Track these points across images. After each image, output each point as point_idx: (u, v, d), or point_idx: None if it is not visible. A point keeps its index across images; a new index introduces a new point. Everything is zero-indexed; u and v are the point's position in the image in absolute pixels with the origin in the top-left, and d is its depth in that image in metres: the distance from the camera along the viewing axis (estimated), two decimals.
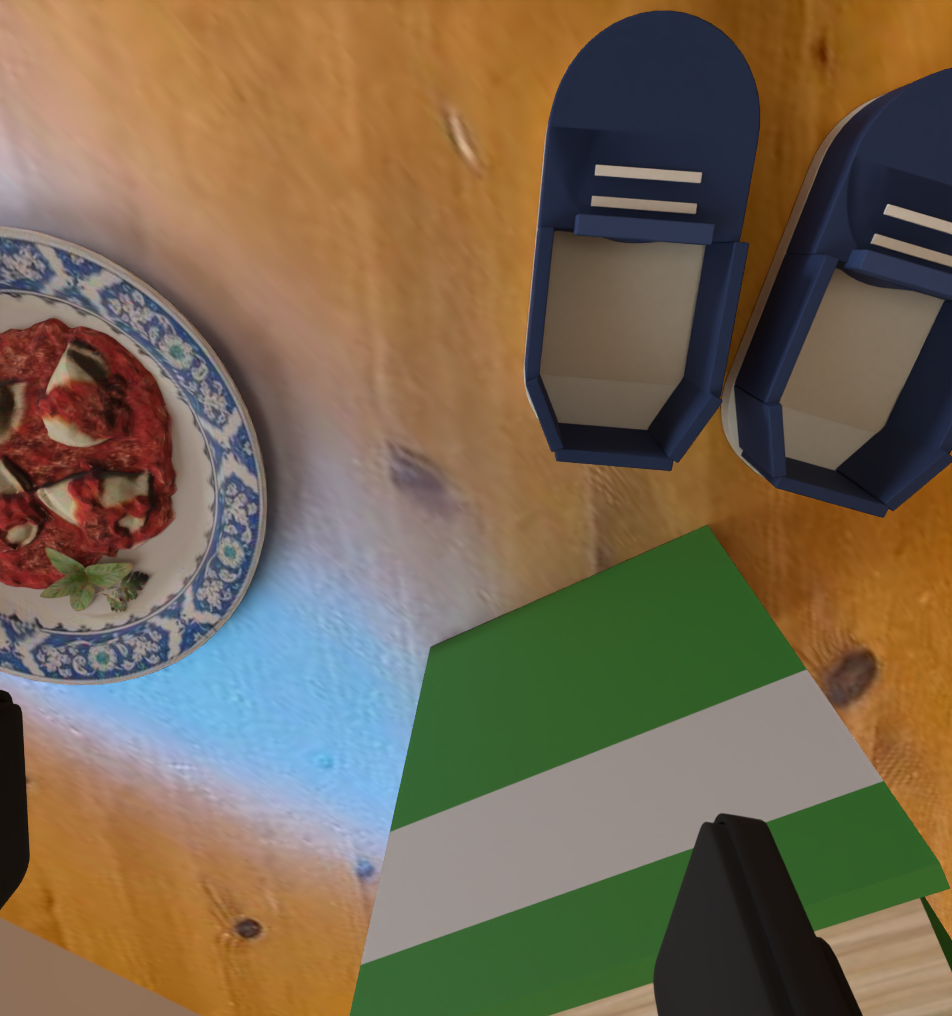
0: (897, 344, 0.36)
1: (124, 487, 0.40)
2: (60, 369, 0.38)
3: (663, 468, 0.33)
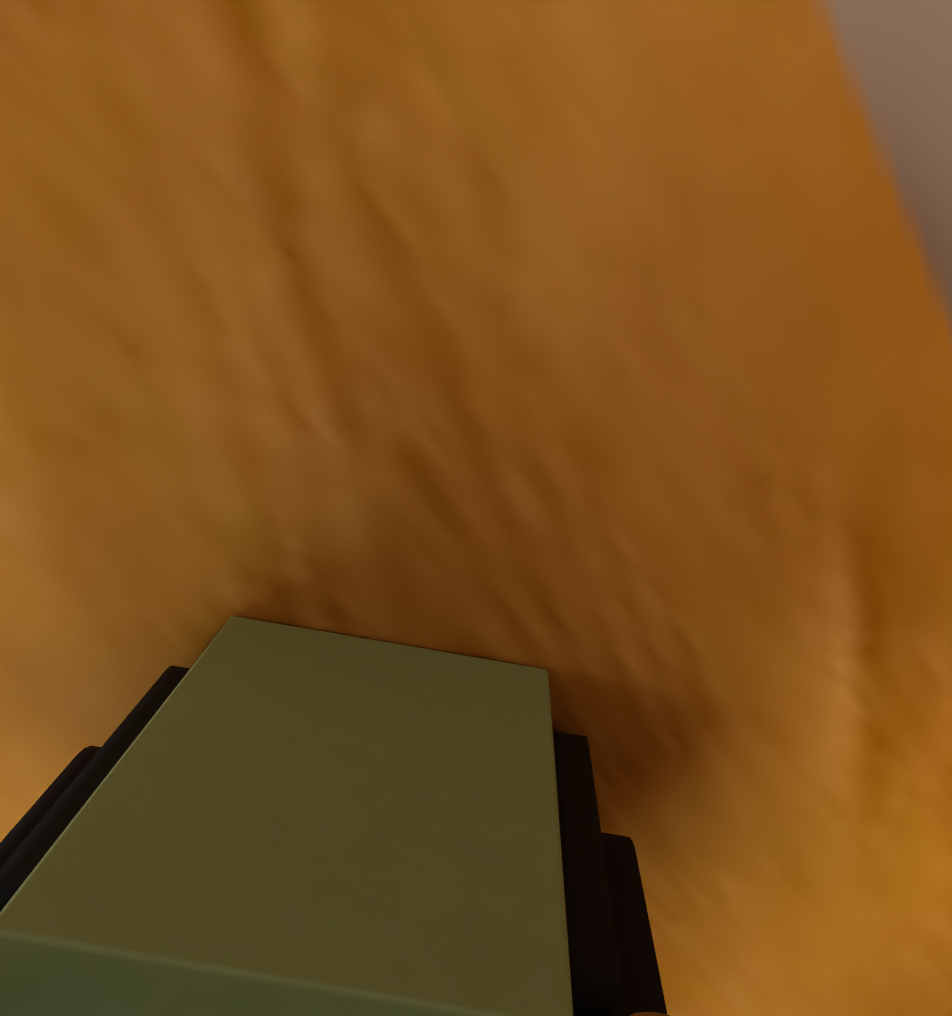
0: None
1: None
2: None
3: None
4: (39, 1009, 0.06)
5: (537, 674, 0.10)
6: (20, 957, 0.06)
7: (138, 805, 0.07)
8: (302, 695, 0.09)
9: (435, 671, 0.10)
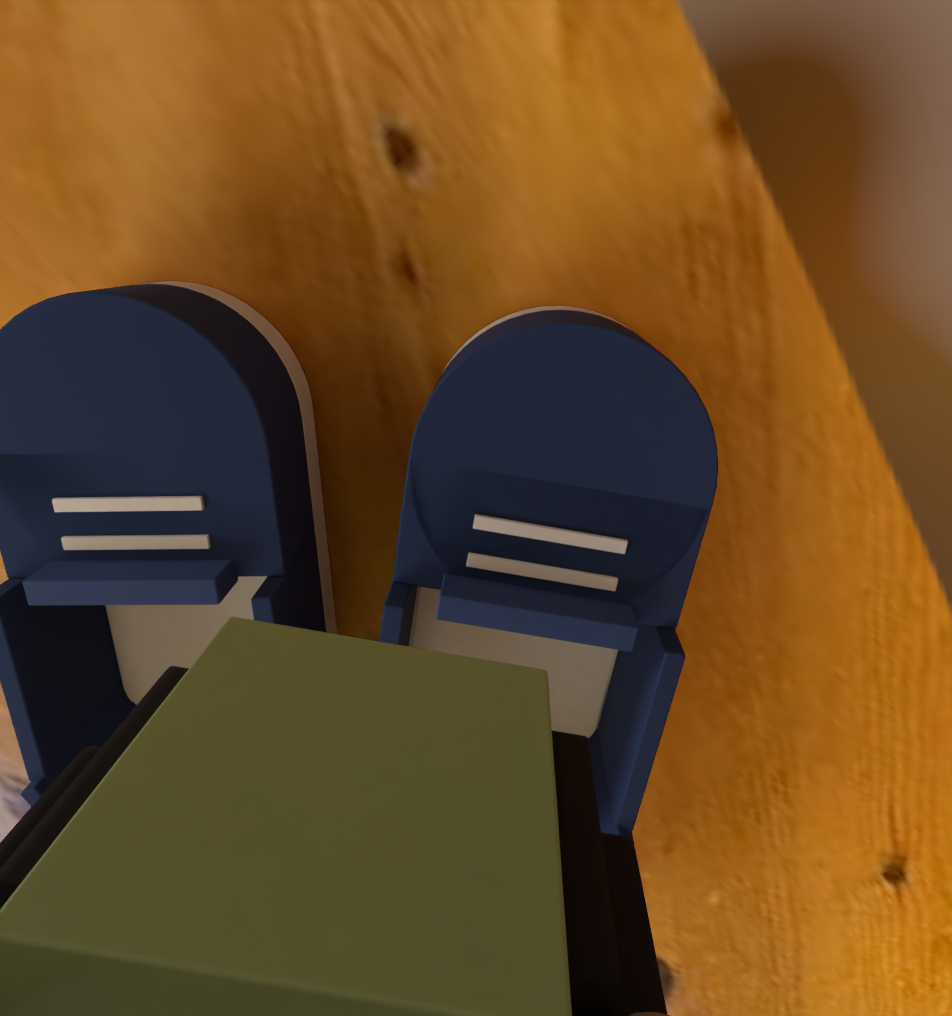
0: None
1: None
2: None
3: None
4: (35, 1012, 0.06)
5: (536, 675, 0.10)
6: (16, 959, 0.06)
7: (137, 807, 0.07)
8: (301, 696, 0.09)
9: (434, 671, 0.10)
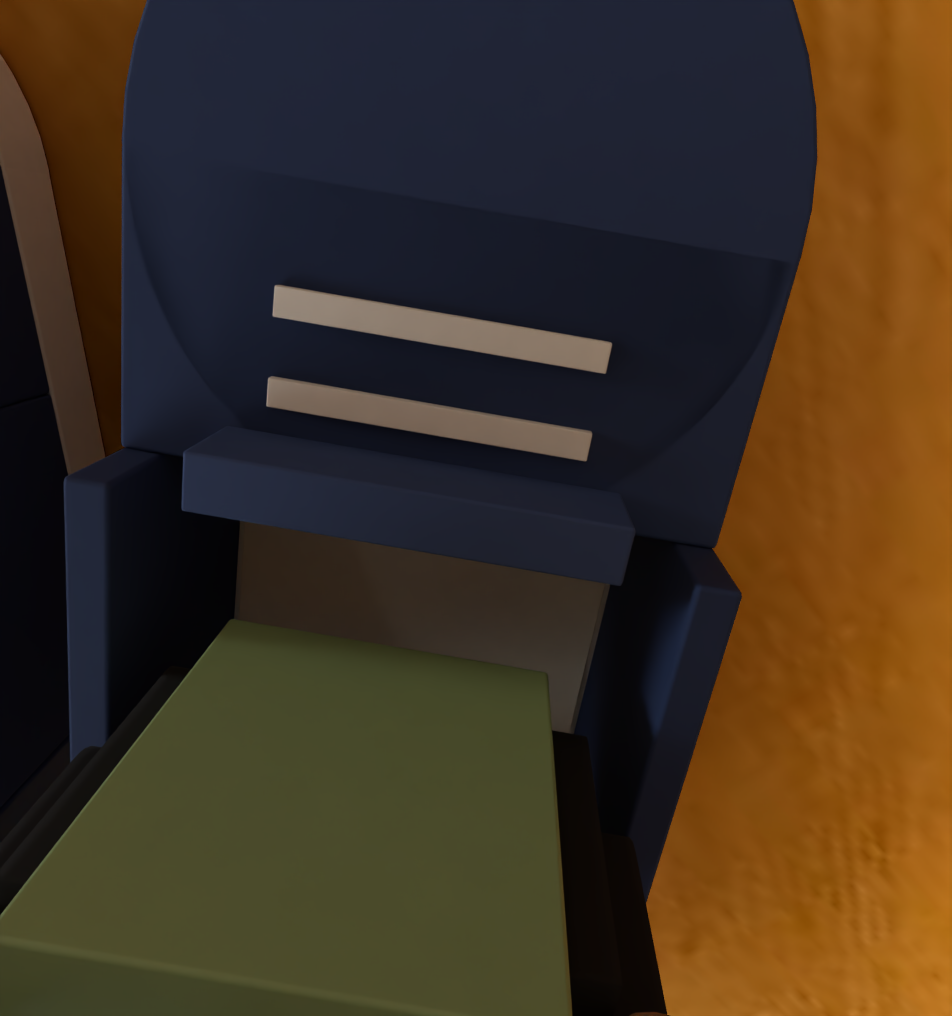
0: (547, 583, 0.15)
1: None
2: None
3: None
4: (37, 1015, 0.06)
5: (537, 677, 0.10)
6: (18, 964, 0.06)
7: (137, 810, 0.07)
8: (301, 699, 0.09)
9: (434, 674, 0.10)
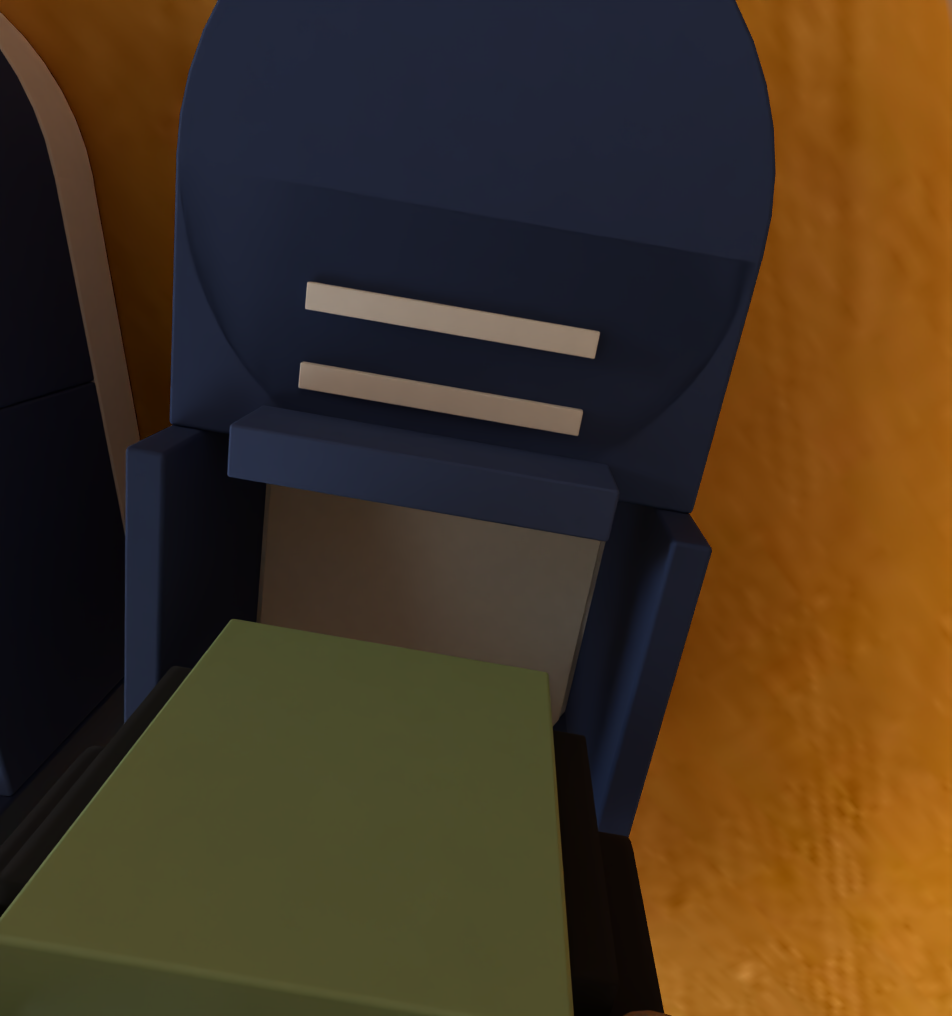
0: (545, 554, 0.16)
1: None
2: None
3: None
4: (38, 1015, 0.06)
5: (537, 677, 0.10)
6: (20, 963, 0.06)
7: (139, 809, 0.07)
8: (302, 698, 0.09)
9: (435, 674, 0.10)
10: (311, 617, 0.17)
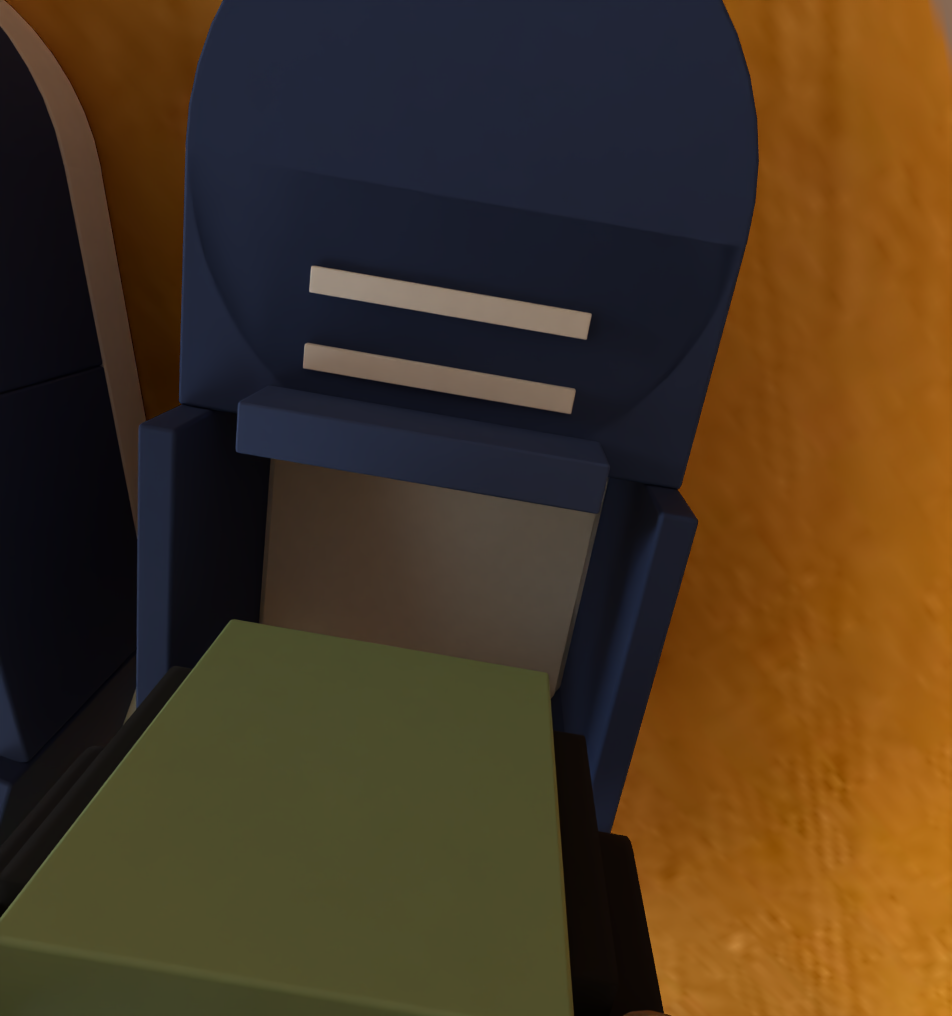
0: (540, 533, 0.17)
1: None
2: None
3: None
4: (38, 1015, 0.06)
5: (537, 677, 0.10)
6: (20, 964, 0.06)
7: (138, 810, 0.07)
8: (302, 699, 0.09)
9: (435, 674, 0.10)
10: (313, 595, 0.17)
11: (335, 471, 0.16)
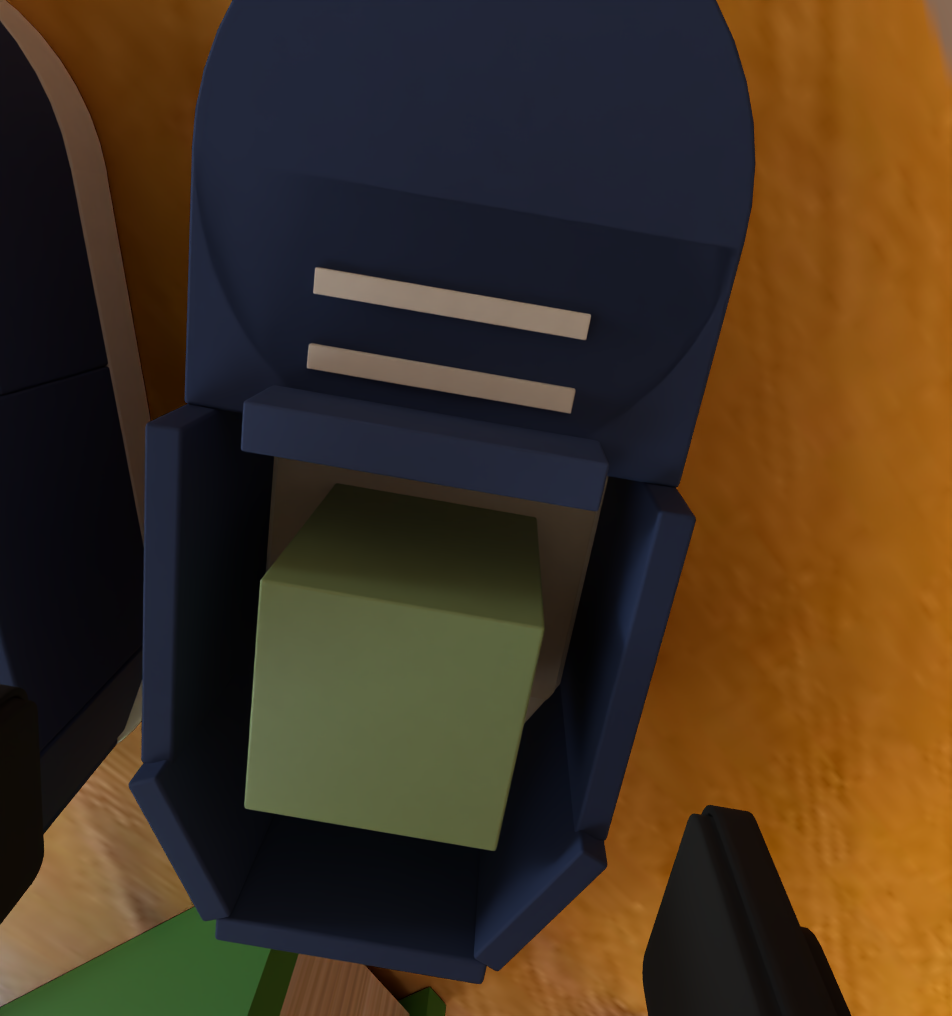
0: (541, 532, 0.17)
1: None
2: None
3: None
4: (281, 624, 0.12)
5: (529, 518, 0.16)
6: (275, 594, 0.12)
7: (314, 549, 0.13)
8: (388, 517, 0.15)
9: (465, 513, 0.16)
10: None
11: (338, 470, 0.17)
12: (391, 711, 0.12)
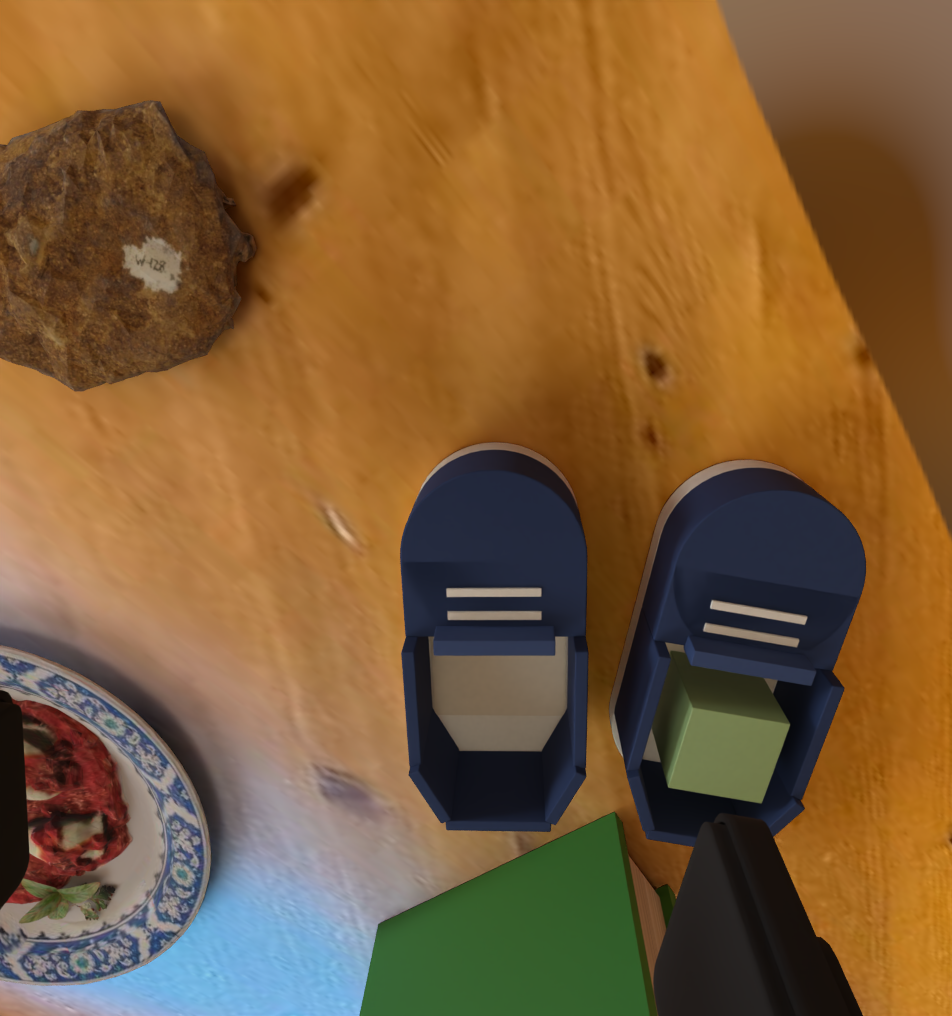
0: None
1: (81, 831, 0.44)
2: None
3: (543, 830, 0.36)
4: (697, 722, 0.34)
5: None
6: (697, 712, 0.34)
7: (695, 691, 0.35)
8: (705, 671, 0.37)
9: None
10: None
11: (672, 645, 0.39)
12: (731, 752, 0.35)
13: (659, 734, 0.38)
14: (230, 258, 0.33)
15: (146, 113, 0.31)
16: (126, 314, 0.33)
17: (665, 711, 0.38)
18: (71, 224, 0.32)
